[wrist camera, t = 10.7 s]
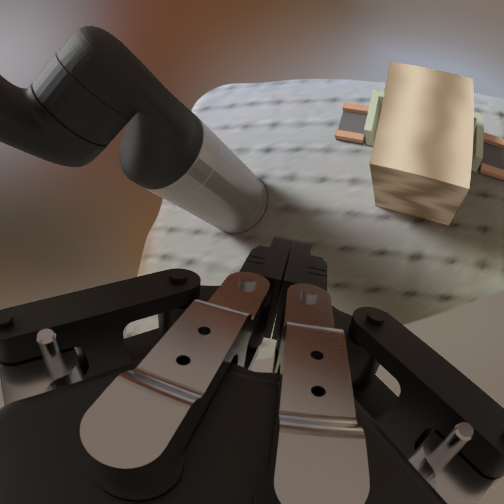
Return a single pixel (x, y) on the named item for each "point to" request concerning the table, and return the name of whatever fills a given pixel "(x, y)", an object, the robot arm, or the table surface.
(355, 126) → the grey-green piece
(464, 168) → the ash block
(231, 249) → the table surface
